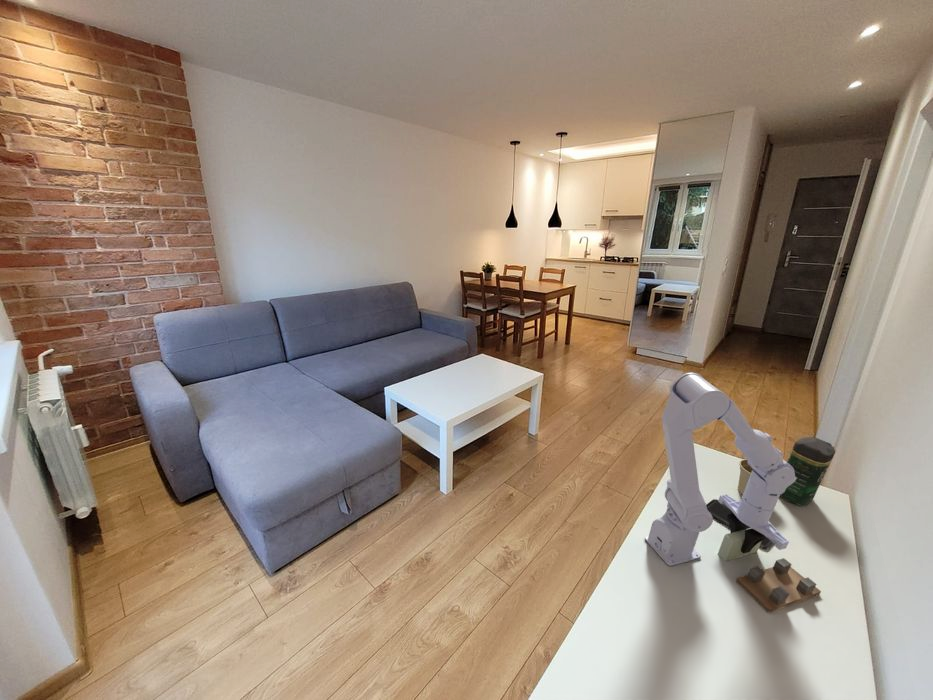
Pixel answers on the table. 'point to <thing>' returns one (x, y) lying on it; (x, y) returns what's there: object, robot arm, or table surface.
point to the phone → (720, 515)
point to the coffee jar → (808, 468)
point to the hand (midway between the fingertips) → (739, 546)
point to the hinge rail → (777, 586)
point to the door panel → (734, 546)
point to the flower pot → (744, 475)
